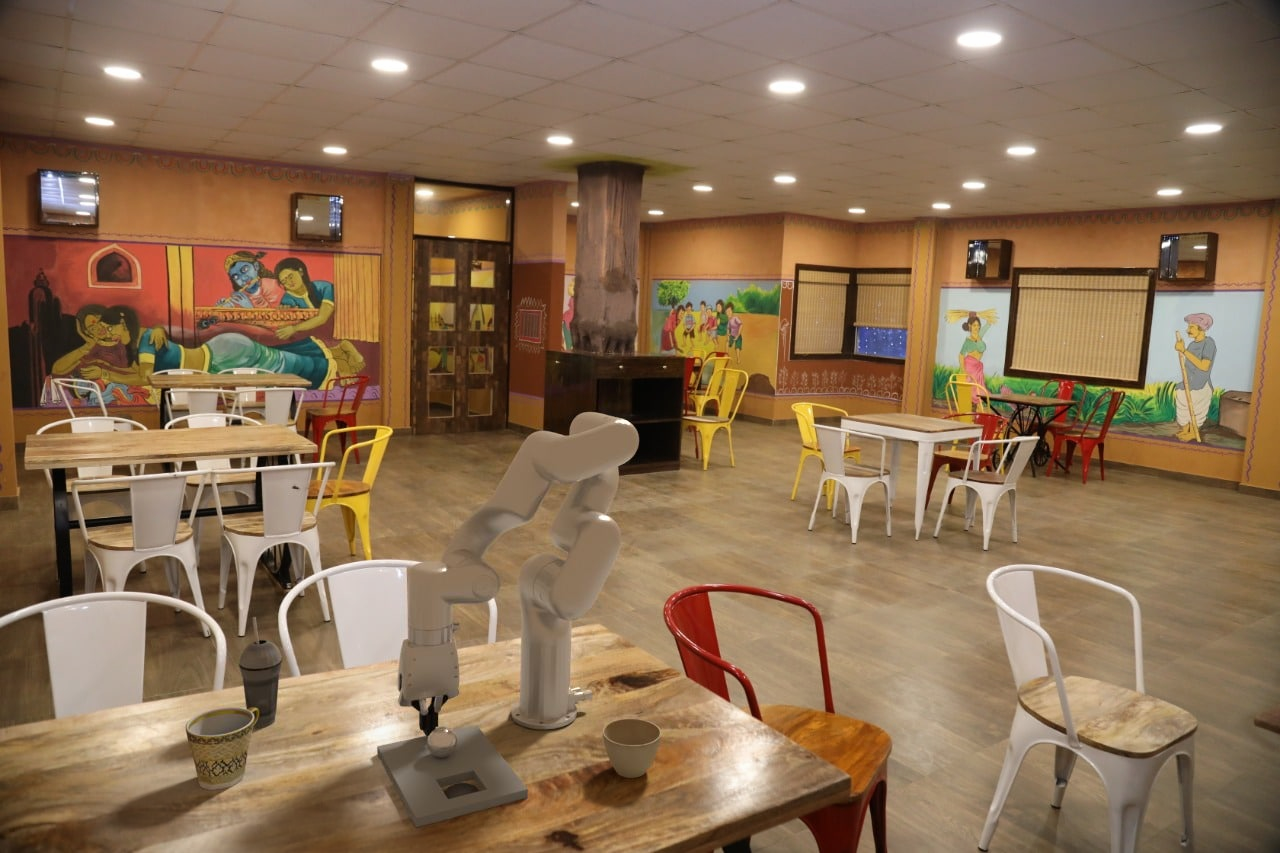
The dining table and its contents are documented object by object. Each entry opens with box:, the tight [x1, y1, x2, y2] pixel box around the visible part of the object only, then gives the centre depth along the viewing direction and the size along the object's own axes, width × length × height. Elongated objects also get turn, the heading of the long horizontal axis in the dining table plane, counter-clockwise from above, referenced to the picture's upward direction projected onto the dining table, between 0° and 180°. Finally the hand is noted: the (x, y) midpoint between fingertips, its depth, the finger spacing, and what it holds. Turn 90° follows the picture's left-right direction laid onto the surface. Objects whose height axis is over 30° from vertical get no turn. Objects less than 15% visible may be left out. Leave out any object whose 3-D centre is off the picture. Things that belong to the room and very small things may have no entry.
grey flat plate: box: [376, 724, 529, 828], centre depth 145 cm, size 18×24×2 cm
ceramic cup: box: [185, 706, 259, 791], centre depth 142 cm, size 13×10×10 cm
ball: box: [427, 726, 457, 758], centre depth 148 cm, size 5×5×5 cm
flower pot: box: [602, 717, 662, 779], centre depth 148 cm, size 10×10×7 cm
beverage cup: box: [238, 616, 283, 729], centre depth 159 cm, size 7×7×20 cm
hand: (428, 731), depth 154 cm, fingers closed
